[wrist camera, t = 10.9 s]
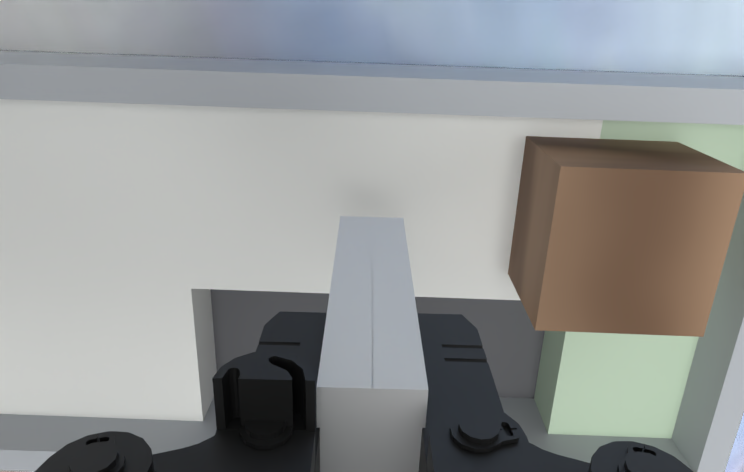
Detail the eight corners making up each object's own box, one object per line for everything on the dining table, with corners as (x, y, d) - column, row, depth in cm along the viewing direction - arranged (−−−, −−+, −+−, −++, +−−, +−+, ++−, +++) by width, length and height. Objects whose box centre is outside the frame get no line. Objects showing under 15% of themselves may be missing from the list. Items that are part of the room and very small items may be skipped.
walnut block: (507, 273, 21) (534, 330, 17) (526, 136, 19) (561, 166, 15) (646, 278, 21) (703, 337, 17) (677, 141, 19) (748, 173, 15)
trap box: (-1, 394, 26) (-73, 467, 22) (-84, 47, 21) (-201, 56, 17) (663, 418, 26) (716, 497, 22) (752, 76, 21) (846, 93, 17)
